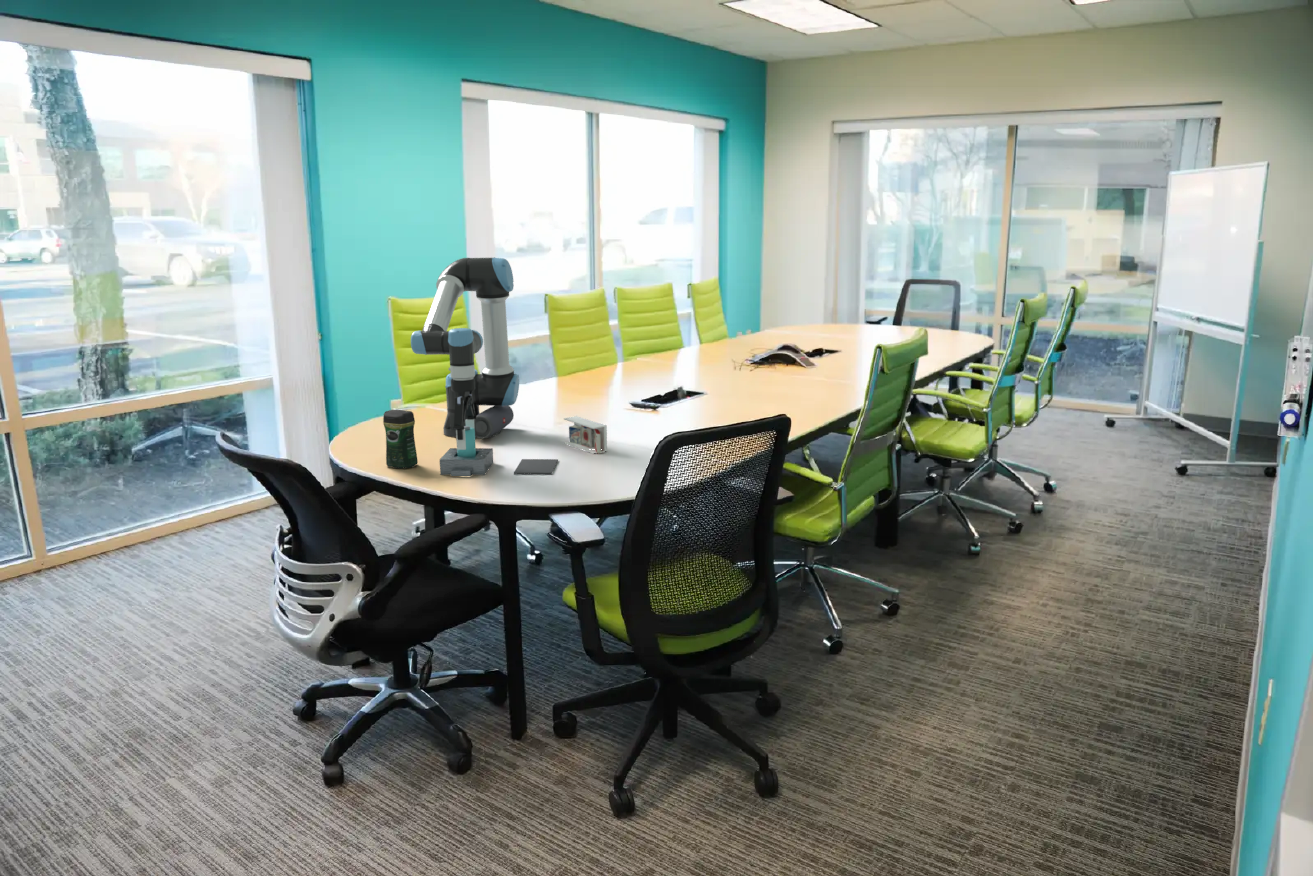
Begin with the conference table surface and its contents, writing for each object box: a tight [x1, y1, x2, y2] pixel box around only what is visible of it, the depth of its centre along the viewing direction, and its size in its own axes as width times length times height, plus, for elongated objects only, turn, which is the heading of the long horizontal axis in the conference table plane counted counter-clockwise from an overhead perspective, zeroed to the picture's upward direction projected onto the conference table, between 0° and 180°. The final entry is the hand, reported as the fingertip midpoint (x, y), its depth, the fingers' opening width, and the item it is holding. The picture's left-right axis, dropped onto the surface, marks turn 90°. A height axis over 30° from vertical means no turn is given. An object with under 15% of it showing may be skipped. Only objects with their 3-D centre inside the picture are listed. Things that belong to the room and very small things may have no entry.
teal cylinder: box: [457, 426, 477, 457], centre depth 296 cm, size 6×6×14 cm
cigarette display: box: [563, 415, 608, 454], centre depth 322 cm, size 20×6×9 cm, turn 38°
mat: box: [513, 458, 559, 476], centre depth 299 cm, size 16×12×1 cm
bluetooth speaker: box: [474, 405, 514, 439], centre depth 341 cm, size 23×9×10 cm, turn 168°
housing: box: [439, 447, 494, 477], centre depth 297 cm, size 19×14×5 cm
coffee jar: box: [382, 409, 419, 469], centre depth 299 cm, size 10×8×19 cm
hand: (466, 444), depth 295 cm, fingers open, 12 cm apart
